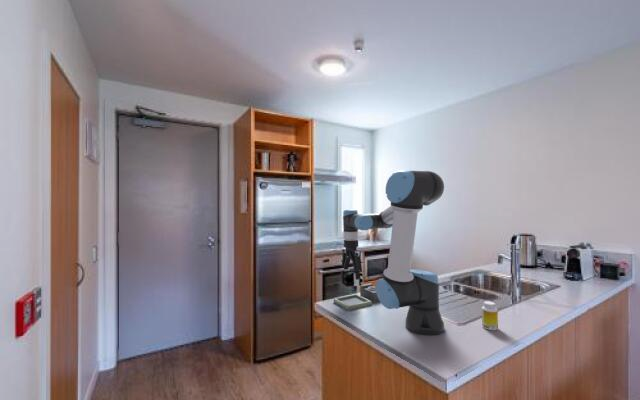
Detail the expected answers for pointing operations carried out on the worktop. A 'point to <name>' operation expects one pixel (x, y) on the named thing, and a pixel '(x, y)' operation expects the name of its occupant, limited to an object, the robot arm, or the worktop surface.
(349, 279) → the black ridged block
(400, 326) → the worktop surface
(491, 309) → the supplement bottle
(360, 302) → the grey square frame
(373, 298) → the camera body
